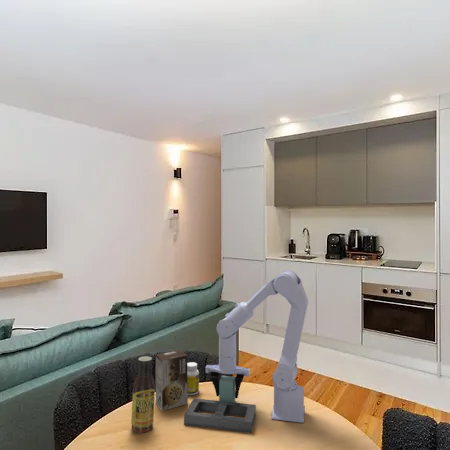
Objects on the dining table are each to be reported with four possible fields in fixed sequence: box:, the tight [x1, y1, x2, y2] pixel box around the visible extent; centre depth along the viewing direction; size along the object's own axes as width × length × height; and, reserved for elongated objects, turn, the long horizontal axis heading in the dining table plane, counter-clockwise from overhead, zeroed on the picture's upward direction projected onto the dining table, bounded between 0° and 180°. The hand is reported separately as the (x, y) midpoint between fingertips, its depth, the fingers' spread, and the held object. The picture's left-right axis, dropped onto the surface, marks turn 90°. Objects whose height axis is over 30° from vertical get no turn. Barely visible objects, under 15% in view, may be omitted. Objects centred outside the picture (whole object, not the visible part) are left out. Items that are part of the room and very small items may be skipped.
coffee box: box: [155, 349, 189, 412], centre depth 114 cm, size 9×6×16 cm
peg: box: [218, 375, 236, 403], centre depth 114 cm, size 4×4×8 cm
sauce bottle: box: [130, 355, 156, 434], centre depth 100 cm, size 6×6×20 cm
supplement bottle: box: [187, 361, 200, 396], centre depth 122 cm, size 5×5×10 cm
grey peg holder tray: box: [183, 397, 257, 434], centre depth 104 cm, size 20×10×3 cm, turn 78°
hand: (227, 395), depth 114 cm, fingers open, 6 cm apart
